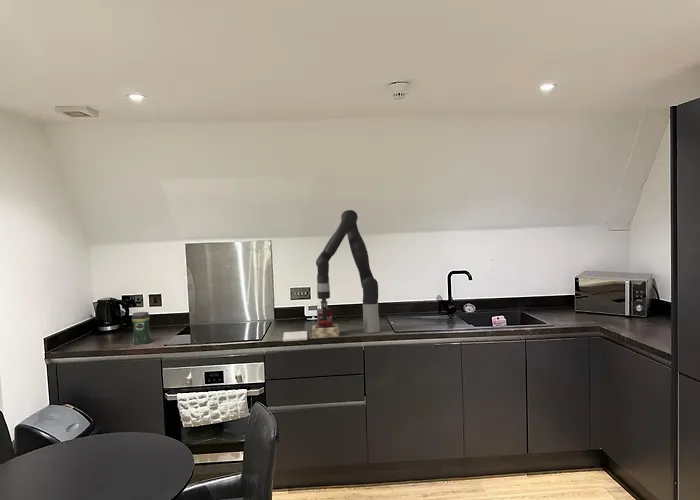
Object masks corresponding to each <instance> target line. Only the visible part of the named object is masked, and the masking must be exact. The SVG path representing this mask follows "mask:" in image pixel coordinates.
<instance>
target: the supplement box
mask: <svg viewBox="0 0 700 500" xmlns="http://www.w3.org/2000/svg"><path fill="white" fill-rule="evenodd" d="M322 311H323V310H322V308H321V307H320V308H316V322H317V328H333V324H334V323H333V308H332V307H327V319H326V320H323V313H322ZM324 311H326V310H324Z"/></svg>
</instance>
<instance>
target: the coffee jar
mask: <svg viewBox="0 0 700 500" xmlns="http://www.w3.org/2000/svg"><path fill="white" fill-rule="evenodd" d="M131 321H132V324H133V339H132V340H133V344H134V345H144V344H148V343H149V342H150V343H151V342H152V336H151V332H150V314H149V312H148V311H139V312H138V311H137V312H134V313H133V312H132V315H131Z"/></svg>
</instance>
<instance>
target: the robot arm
mask: <svg viewBox="0 0 700 500" xmlns="http://www.w3.org/2000/svg"><path fill="white" fill-rule="evenodd" d="M357 213H358V212H356V211H355V210H353V209H347V210H344V211H343V212H342V213H341V215H340V217H341V218H340V219H341V221H340V222H339V225H338V227H337V229H336V230H335V232H334V233H333V234H332V236H331V237H330V238H329V240H328V241H327V243H326V245H325V246H324V248H323V250H322V251H321V252H320V253H319V255H318V256H317V258H316V260H315V261H316V262H315V266H316V269H317V274H316V275H317V276H316V281H317V282H316V284H317V285H316V292H317V294H316V295H317V299H318V300H320V309H321V308H322V310H323V311H322V313H323V320H326V319H327V308H328V301H327V299H328V300H329V299H330V298H331V290H330V289H331V288H330V277H329V274H330V273H329V270H330V260H331V258H332V257H333V256H334V255H335V254H336V253H337V251H338V249H339V248H340V246H341V243H342V242H343V240H344V238H345V237H346V236H347V240H348V244H349V247H350V248H349V249H350V251H351V256H352V259H353V260H354V263H355V266H356V267H357V270H358V274H359V279H360V283H361V284H360V285H361V288H362V316H363V317H362V318H363V320H362V321H363V332H364V333H368V334H370V333H371V334H372V333H373V334H374V333H378V332H379V333H380V332H381V331H380V329H381V327H380V316H379V282H378V281H377V279H375V277H374V275H373V272H372V270H371V268H370V267H371V266H370V258H369V253H368V252H369V251H368V249H367V246H366V243H365V241H364V240H363V237H362V235H361V234H360V231H359V227H358V224H357V221H358V220H359V218H358V214H357ZM324 310H326V311H324Z"/></svg>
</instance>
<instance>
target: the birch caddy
mask: <svg viewBox="0 0 700 500" xmlns="http://www.w3.org/2000/svg"><path fill="white" fill-rule="evenodd" d="M311 331H312V339H316V338H331V337H333V338H334V337H339V336H340V328H339V325H338V323H333V328H317V325H312V326H311Z"/></svg>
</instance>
